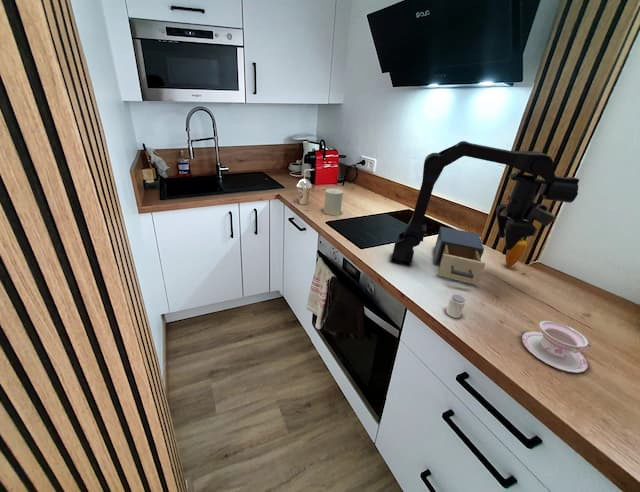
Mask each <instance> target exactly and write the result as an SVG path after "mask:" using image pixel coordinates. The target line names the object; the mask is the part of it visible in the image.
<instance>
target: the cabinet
mask: <svg viewBox="0 0 640 492" xmlns="http://www.w3.org/2000/svg"><path fill="white" fill-rule="evenodd" d="M444 244H449V245H454V246H459V247H464V248H469V249H474V250H478V253H479V256H480V259H482V257H483V254H484V251H485V248H484V245H483V242H482V240H481V236H480V233H478V232H473V231H467V230H463V229H456V228H450V227H445V226H440V227H439V229H438V234H437V238H436V241H435V244H434V265H437V266H440V255H441V252H442V249H443V245H444Z"/></svg>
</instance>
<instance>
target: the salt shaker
mask: <svg viewBox="0 0 640 492" xmlns="http://www.w3.org/2000/svg"><path fill="white" fill-rule="evenodd" d="M465 304H466V299H465V297H463V296H462V295H460V294H452V295H450V297H449V300H448V304H447V306H446V309H445V313H446V314H447V315H448V316H449V317H450V318H454V319H459V318H460V317H461V316H462V312H463V310H464V307H465Z"/></svg>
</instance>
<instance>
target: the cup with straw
mask: <svg viewBox="0 0 640 492" xmlns="http://www.w3.org/2000/svg"><path fill="white" fill-rule="evenodd" d="M308 171H309V172H311V171H315V168H312V169H311V168H310V169H308V168H307V169H305V170H304V171H303V178H302V179H300V180H299V181H298V183H297V184H296V187H297V191H298V203H299V205H300V204H301V205H307V204H308V201H309V195H310V191H311V188H313V185H312V184H311V181H310V180H309V179H307V178H306V173H307V172H308Z"/></svg>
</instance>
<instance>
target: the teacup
mask: <svg viewBox="0 0 640 492" xmlns="http://www.w3.org/2000/svg"><path fill="white" fill-rule="evenodd" d="M538 326H539V328H540V330H541V331H542V332H541V331H526V332H525V333H523V334H522V336H521V342H522V345H523V346H524V347H525V348H526V350H527V351H528V352H529V353H530V354H531V355H532V356H534V357H535V358H536V359H538V360H539V361H542V363H544V364H546V365H548V366H551V367H552V368H555V369H557V370H560V371H563V372H567V373H573V374H579V373H584V372H585V371H586V370H587V369H588V361H587V360H586V358H585V356H584V355H583V354H581V353H584V352H586V351H587V350H589V347H592V345H591V344H590V343H589V341H588V339H587V338H586V337H585V336H584V335H583V333H580V332H579V331H577V330H576V329H574V328H572V327H570V326H567V325H565V324H563V323H559V322H557V321H552V320H541V321H540V322H539V325H538Z"/></svg>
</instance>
